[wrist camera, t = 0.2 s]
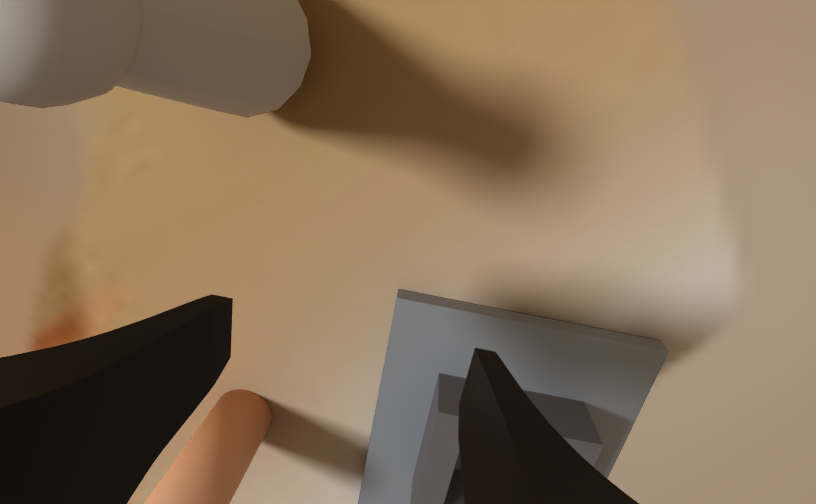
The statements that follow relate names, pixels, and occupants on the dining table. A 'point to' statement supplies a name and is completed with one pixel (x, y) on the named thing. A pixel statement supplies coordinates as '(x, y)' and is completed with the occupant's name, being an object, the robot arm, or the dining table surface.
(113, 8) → the salt shaker
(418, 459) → the socket board
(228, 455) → the peg
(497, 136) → the dining table surface
